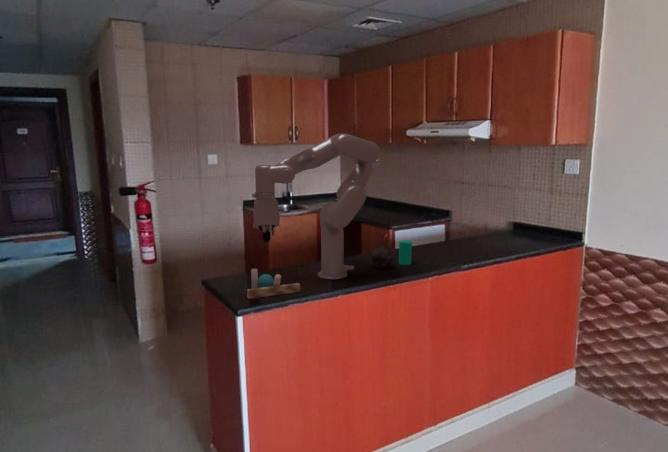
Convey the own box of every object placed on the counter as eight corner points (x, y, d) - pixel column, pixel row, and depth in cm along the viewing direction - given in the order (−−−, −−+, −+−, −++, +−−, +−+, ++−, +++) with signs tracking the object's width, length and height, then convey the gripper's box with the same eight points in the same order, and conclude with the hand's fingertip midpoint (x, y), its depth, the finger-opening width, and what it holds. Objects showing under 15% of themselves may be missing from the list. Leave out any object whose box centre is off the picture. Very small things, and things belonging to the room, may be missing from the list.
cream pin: (277, 284, 181) (280, 273, 174) (279, 289, 180) (282, 279, 173) (271, 285, 180) (274, 275, 173) (273, 291, 179) (275, 280, 172)
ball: (272, 281, 177) (277, 287, 182) (267, 269, 180) (273, 275, 185) (257, 288, 177) (263, 294, 182) (253, 275, 180) (259, 281, 185)
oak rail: (298, 290, 180) (298, 282, 179) (300, 291, 178) (300, 284, 178) (247, 297, 172) (247, 289, 172) (248, 298, 170) (248, 290, 170)
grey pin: (257, 290, 179) (256, 268, 178) (258, 292, 177) (258, 269, 176) (251, 291, 178) (250, 269, 177) (252, 293, 176) (251, 270, 175)
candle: (410, 261, 224) (410, 237, 222) (412, 264, 218) (413, 239, 216) (397, 261, 224) (398, 237, 222) (399, 264, 218) (400, 239, 216)
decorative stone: (368, 265, 216) (368, 244, 214) (388, 264, 219) (388, 243, 217) (375, 271, 207) (375, 249, 205) (396, 269, 209) (396, 248, 207)
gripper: (249, 198, 178) (250, 244, 182) (286, 196, 184) (287, 241, 187) (244, 196, 185) (246, 241, 188) (280, 194, 191) (281, 238, 194)
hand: (266, 241), depth 188 cm, fingers closed
